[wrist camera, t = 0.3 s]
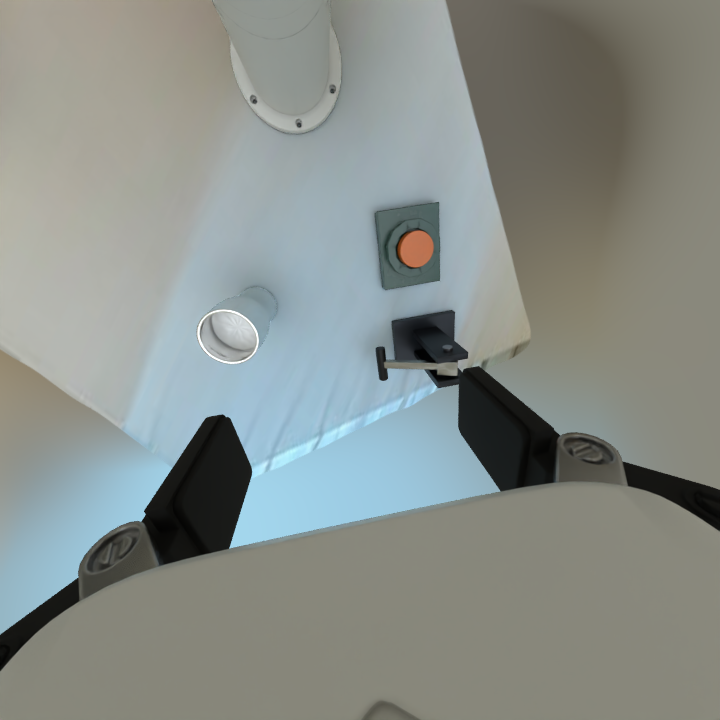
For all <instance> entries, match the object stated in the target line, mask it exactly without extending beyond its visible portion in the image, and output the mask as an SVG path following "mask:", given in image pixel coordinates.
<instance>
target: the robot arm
mask: <svg viewBox="0 0 720 720" xmlns="http://www.w3.org/2000/svg"><path fill="white" fill-rule="evenodd" d="M212 2H213V4H214V6H215V8H216V10H217V12H218V14H219V16H220V19H221V21H222V23H223V25H224V27H225V29H226V31H227V33H228V35H229V37H230V57H231V63H232V68H233V72H234V75H235V78H236V81H237V84H238V86H239V88H240V90H241V92H242V94H243V96H244V98H245V100H246V101H247V103H248V104H249V106H250V107H251V108H252V110H253V111H254V112H255V113H256V115H257V116H258V117H260V118H261V119H262V120H263V121H264V122H265V123H266V124H268V125H270V126H271V127H273V128H274V129H277V130H279V131H282V132H284V133H291V134H300V133H306V132H309V131H311V130H313V129H315V128H317V127H318V126H320V125H321V124H322V123H323V122H324V121H325V120H326V119H327V118H328V116H329V115H330V113H331V112H332V110H333V108H334V106H335V103H336V101H337V99H338V94H339V90H340V85H341V75H342V62H341V54H340V48H339V44H338V40H337V36H336V33H335V31H334V29H333V26H332V24H331V22H330V8H331V0H212ZM331 90H334V93H333V94H332V93H331V92H330V91H331ZM254 100H256V101H257V103H256V104H253V101H254ZM299 123H300V124H301V127H298V126H297V125H298V124H299ZM458 416H459V417H458V427H459V430H460V433H461V435H462V436H463V438H464V439H465V440H466V442H467V443H468V445H469V446H470V448H471V449H472V450H473V452H474V453H475V455H476V456H477V458H478V459H479V461H480V462H481V463H482V465H483V466H484V468H485V469H486V471H487V472H488V473H489V475H490V476H491V478H492V479H493V481H494V482H495V483H496V485H497V486H498V488H499V489H500V491H501V492H496V493H491V494H485V495H480V496H475V497H470V498H466V499H461V500H456V501H451V502H446V503H441V504H436V505H431V506H427V507H422V508H417V509H412V510H407V511H402V512H397V513H393V514H388V515H384V516H378V517H374V518H369V519H364V520H360V521H355V522H350V523H345V524H341V525H336V526H331V527H327V528H323V529H317V530H313V531H308V532H304V533H299V534H294V535H290V536H285V537H280V538H276V539H271V540H267V541H262V542H258V543H253V544H249V545H244V546H239V547H235V548H231V549H229V547H230V544H231V541H232V537H233V534H234V531H235V528H236V525H237V521H238V518H239V515H240V512H241V508H242V505H243V502H244V498H245V495H246V492H247V489H248V485H249V482H250V479H251V476H252V468H251V465H250V463H249V460H248V458H247V456H246V454H245V451H244V449H243V447H242V444H241V442H240V440H239V437H238V435H237V433H236V430H235V428H234V426H233V424H232V421H231V419H230V418H229V417H225V416H224V415H217V416H211V417H207V418H206V419H205V420H204V422H203V423H202V425H201V426H200V428H199V429H198V431H197V432H196V434H195V435H194V437H193V438H192V440H191V441H190V443H189V444H188V446H187V447H186V449H185V450H184V452H183V453H182V455H181V456H180V458H179V459H178V461H177V462H176V464H175V465H174V467H173V468H172V470H171V471H170V473H169V474H168V476H167V477H166V479H165V480H164V482H163V484H162V485H161V486H160V488H159V489H158V491H157V492H156V494H155V495H154V497H153V498H152V500H151V502H150V503H149V504H148V506H147V508H146V509H145V511H144V512H145V514H146V515H145V517H144V519H143V520H142V522H139V521H134V522H129V523H126V524H124V525H121V526H119V527H117V528H115V529H114V530H112V531H110V532H109V533H108V534H106V535H105V536H103V537H102V538H101V539H100V540H99V541H98V542H96V543H95V544H94V545H93V546H92V548H91V549H90V550H89V551H88V552H87V553H86V555H85V556H84V558H83V560H82V561H81V563H80V566H79V571H78V576H79V578H77V579H76V580H74V581H73V582H72V583H70V584H69V585H68V586H66V587H65V588H63V589H62V590H61V591H59V592H58V593H57V594H55V595H54V596H52V597H51V598H50V599H48V600H47V601H46V602H44V603H43V604H42V605H40V606H39V607H37V608H36V609H35V610H33V611H32V612H31V613H29V614H28V615H26V616H25V617H24V618H22V619H21V620H20V621H18V622H17V623H16V624H14V625H13V626H11V627H10V628H9V629H8V630H6V631H5V632H3V633H2V634H1V635H0V720H720V490H718V489H716V488H713V487H710V486H706V485H703V484H699V483H696V482H692V481H689V480H685V479H682V478H678V477H675V476H671V475H668V474H664V473H661V472H657V471H654V470H650V469H647V468H643V467H640V466H636V465H633V464H629V463H626V462H622V458H621V456H620V454H619V452H618V451H617V450H616V449H615V448H614V447H613V446H612V445H611V444H609V443H607V442H606V441H604V440H602V439H600V438H598V437H595V436H592V435H588V434H584V433H577V432H576V433H566V434H562V435H561V436H560V435H559V434H558V433H557V432H555V431H554V428H553V427H552V426H551V425H549V424H548V423H547V422H546V421H544V420H543V419H542V418H541V417H539V416H538V415H537V414H536V413H535V412H534V411H532V410H531V409H530V408H528V406H526V405H525V404H524V403H523V402H522V401H520V400H519V399H518V398H517V397H516V396H514V395H513V394H512V393H510V392H509V391H508V390H507V389H506V388H505V387H503V386H502V385H501V384H500V383H499V382H497V381H496V380H495V379H494V378H493V377H491V376H490V375H489V374H488V373H487V372H485V371H484V370H483V369H482V368H481V367H479V366H477V367H472V368H466V369H464V370H463V373H460V375H459V414H458Z"/></svg>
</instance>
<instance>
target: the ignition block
mask: <svg viewBox="0 0 720 720" xmlns="http://www.w3.org/2000/svg"><path fill="white" fill-rule="evenodd" d="M375 222H376V231H377V241H378V250H379V260H380V269H381V279H382V287H383V288H384V289H385V290H388V289H394V288H399V287H405V286H411V285H417V284H423V283H428V282H434V281H440V237H439V202H436V203H429V204H423V205H417V206H410V207H404V208H398V209H391V210H385V211H379V212H375ZM410 231H424V232H426V233H427V234H429V236H430V237H431V239H432V241H433V245H434V249H433V254H432V256H431V258H430V260H429V261H428V262H427V263H426V264H425V265H423V266H421V267H416V268H415V267H410V266H407V265H405V264H404V263H403V262H401V260H400V259H399V256H398V252H397V249H398V244H399V241H400V239H401V238H402V237H403V236H404V235H405V234H406V233H408V232H410Z"/></svg>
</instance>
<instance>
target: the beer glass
mask: <svg viewBox="0 0 720 720" xmlns="http://www.w3.org/2000/svg"><path fill="white" fill-rule="evenodd" d="M276 313H277V303H276V300H275V298H274V297H273V295H272V294H271V293H270V292H269V291H267V290H266V289H264V288H261V287H250V288H247V289H245V290H244V291H242V292H241V294H240V295H239V296H235V297H231V298H228V299H225V300H223V301H222V302H220V303H218V304H217V305H216V306H214V307H213V308H212V309H211V310H210V311H209V312H208V313H207V314H206V315H204V316H203V317H202V319H201V320H200V322H199V323H198V326H197V339H198V342H199V344H200V346H201V348H202V349H203V350H204V352H205V353H206V354H207V355H209V356H210V357H211V358H213V359H214V360H216V361H219V362H221V363H225V364H239V363H243V362H245V361H247V360H249V359H250V358H252V357H253V356H254V354H255V353H256V351H257V350H258V349H259V348H260V347H261V345H262V344H263V342H264V341H265V339H266V337H267V335H268V332H269V327H270V321H271V320H272V319H273V318H274V317H275V315H276Z"/></svg>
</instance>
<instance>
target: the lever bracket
mask: <svg viewBox="0 0 720 720" xmlns="http://www.w3.org/2000/svg"><path fill="white" fill-rule="evenodd" d="M454 322H455V312H454V311H452V310H451V311H445V312H439V313H434V314H428V315H423V316H417V317H411V318H406V319H400V320H394V321H392V330H393V340H394V351H395V360H435V362H436V363H437V364H441V363H446V362H451V361H457V360H462V359H467V358H468V352H467V351H466V350H465V349H464V348H462V347H461V346H460V345H459V344H458V343H456V342H455V341H454ZM424 370H425V371H426V372H427V374H428V375H429V377H430V378H431V379H432V381H433V382H434V383H435V385H436V386H437V387H438V388H442V387H447V386H453V385H458V384H459V375H460V373H462V372H461V371H460V370H459V369H458V375H457V376H445V375H437V370H432V369H424Z"/></svg>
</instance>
